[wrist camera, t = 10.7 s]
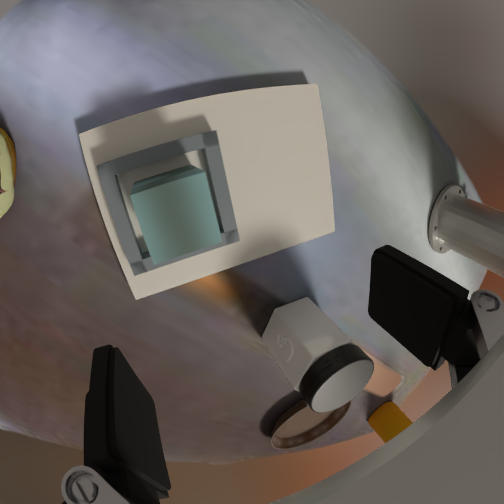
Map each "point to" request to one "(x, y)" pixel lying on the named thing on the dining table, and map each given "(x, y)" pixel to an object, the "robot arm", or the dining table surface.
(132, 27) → the dining table surface
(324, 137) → the board
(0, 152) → the decorated donut
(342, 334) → the jar
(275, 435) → the plant saucer
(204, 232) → the teal block
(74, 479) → the robot arm
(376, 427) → the beer bottle
